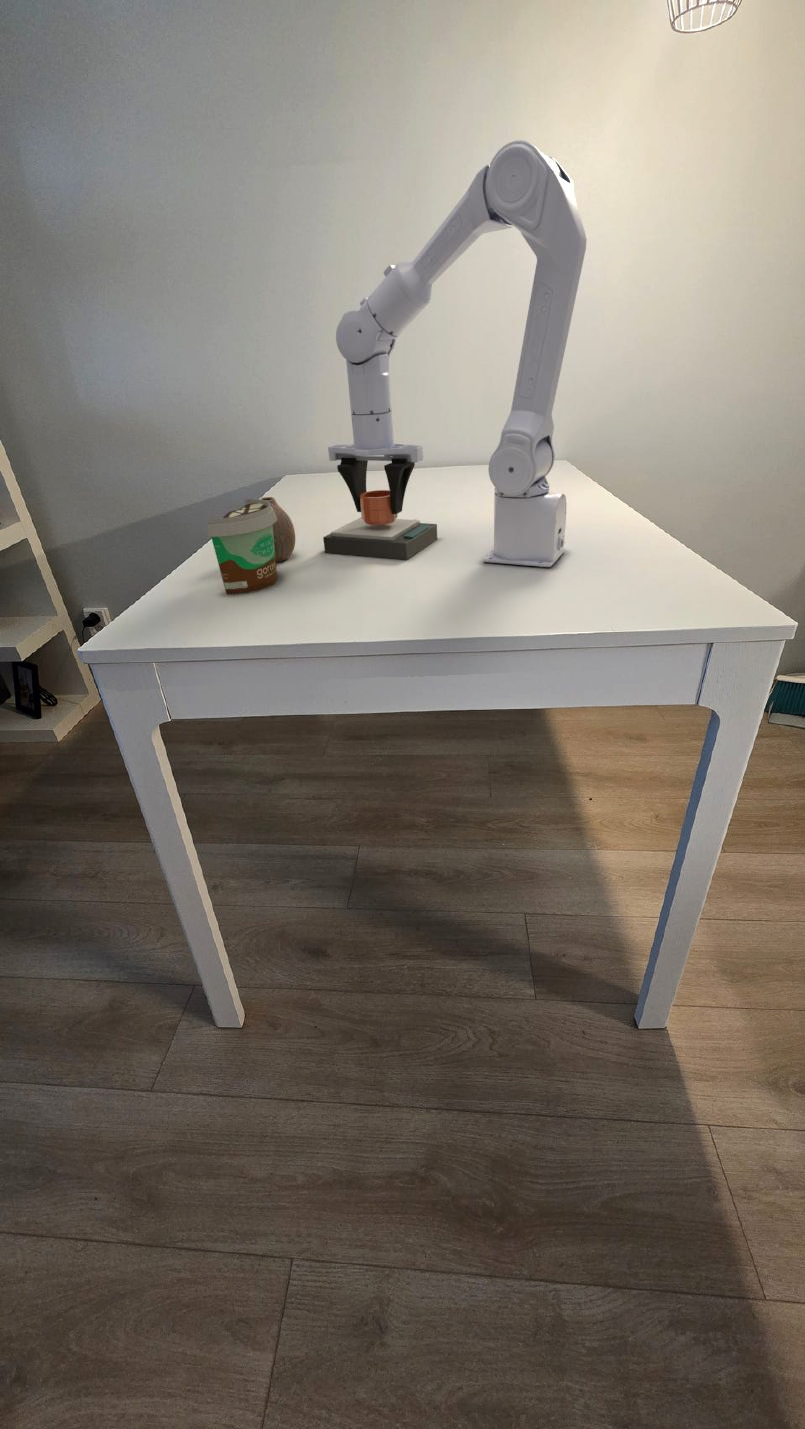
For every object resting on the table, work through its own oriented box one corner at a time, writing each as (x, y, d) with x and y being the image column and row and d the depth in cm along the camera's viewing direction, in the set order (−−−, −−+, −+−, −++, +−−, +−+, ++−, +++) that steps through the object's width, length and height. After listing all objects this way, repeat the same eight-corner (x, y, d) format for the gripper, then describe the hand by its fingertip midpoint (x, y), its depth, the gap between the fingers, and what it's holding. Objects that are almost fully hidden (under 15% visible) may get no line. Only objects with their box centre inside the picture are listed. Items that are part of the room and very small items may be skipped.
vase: (243, 564, 96) (232, 503, 91) (268, 550, 101) (259, 493, 97) (283, 566, 93) (273, 505, 89) (306, 553, 99) (298, 494, 94)
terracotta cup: (403, 517, 98) (402, 490, 96) (387, 526, 94) (385, 498, 92) (373, 515, 101) (370, 489, 99) (355, 524, 96) (353, 497, 94)
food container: (265, 599, 82) (251, 519, 77) (221, 598, 83) (204, 520, 78) (298, 568, 92) (288, 496, 87) (258, 568, 93) (246, 497, 88)
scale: (437, 539, 101) (436, 520, 99) (407, 560, 92) (405, 539, 91) (360, 533, 106) (358, 515, 105) (324, 552, 98) (322, 533, 97)
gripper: (312, 416, 90) (324, 515, 97) (405, 415, 84) (411, 520, 91) (338, 410, 95) (348, 504, 102) (427, 409, 89) (431, 509, 96)
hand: (379, 511), depth 97 cm, fingers closed on terracotta cup, 5 cm apart
